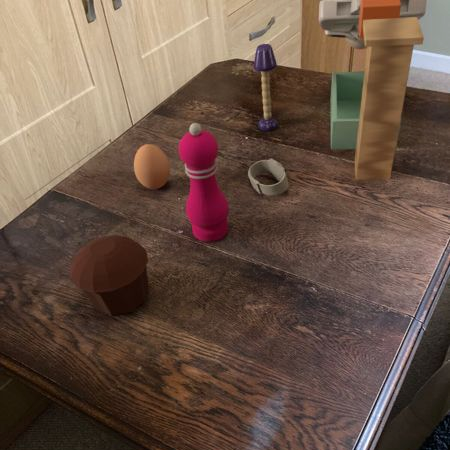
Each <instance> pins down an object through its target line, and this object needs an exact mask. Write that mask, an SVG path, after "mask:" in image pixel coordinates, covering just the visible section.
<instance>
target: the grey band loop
mask: <svg viewBox="0 0 450 450" xmlns="http://www.w3.org/2000/svg"><path fill="white" fill-rule="evenodd" d="M263 173H269V174H271V175H272V176H273V177H274V178H275V179H276V181H278V182H277V183H274V184H269V185H268V184H262V183H260V181H259V180H257V179H255V178H256V177H257V176H259V175H261V174H263ZM247 176H248V179H249V181H250V183H251V186H252V187H253V189H254V190H255V191H256V192H257V193H258V194H259V195H262V194H263V195H266V196H277V195H281V194H283V193H284V192H287V190H288V189H289V187H290V184H289V179H288V176H287V172H286V170H285V168H284V167H283V165H282V164H281V163H280V162H278V161H277V160H275V159H274V158H272V157H271V158H269V159H262V160H259V161H256V162H254V163H253V164H252V165H250V167H249V168H248V170H247Z"/></svg>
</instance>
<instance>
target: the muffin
mask: <svg viewBox="0 0 450 450" xmlns="http://www.w3.org/2000/svg"><path fill="white" fill-rule="evenodd" d="M148 263H149V258H148V251H147V248H145V247H143V246H142V245H141V244H140V243H139V242H138V241H136V240H134V238H132V237H129V236H124V235H119V234H112V235H103V236H101V237H98V238H95V239H93V240H91V241H89V242H88V243H87V244H85V245H84V246H82V247H81V248H79V250H78V252H77V253H76V255H75V256H74V258H73V260H72V261H71V264H70V267H69V277H70V279H69V280H70V281H71V282H72V283H73V284H74V285H75V286H76V288H78V290H82V291H83V293H84V294H85V295H86V297H87V299H89V301H90V302H91V304H92V306H94V308H95V309H96V310H97V311H98V312H101V313H104V312H105V314H107V315H109V316H111V317H112V316H113V315H114V316H117V315H116V314H118V315H121V313H122V314H129V313H128V312H130V313H132V312H133V311H134V310H135V309H136V308H137V307H139V306H141V305H143V302H144V303H145V300H146V296H147V293H148V292H149V279H148V270H147V265H148ZM140 304H141V305H140ZM134 308H135V309H134ZM133 309H134V310H133ZM132 310H133V311H132Z"/></svg>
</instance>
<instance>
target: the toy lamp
mask: <svg viewBox="0 0 450 450" xmlns="http://www.w3.org/2000/svg"><path fill="white" fill-rule="evenodd" d="M253 60H254V61H253V70H255V71H257V72H260V74H261V79H260V81H261V90H262V91H261V97H262V104H263V106H262V110H263V117H262V118H260V120H259V121H258V126H257V128H258V129H259V130H261V131H263V132H269V131H272V130H275V129H276V128H278V121H277V119H276V118H274V117H273V116H272V105H271V104H272V99H271V90H270V89H271V84H270V81H271V80H270V79H271V78H270V71H273V70H274V69H276V67H277V66H278V65H277V63H278V62H277V60H276V56H275V52H274V49H273V46H272V45H271V44H270V43H262V44H258V46H256V49H255V55H254V59H253Z"/></svg>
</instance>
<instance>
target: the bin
mask: <svg viewBox="0 0 450 450" xmlns="http://www.w3.org/2000/svg"><path fill="white" fill-rule="evenodd" d="M364 73H365V70H363V71H360V70H359V71H333V72H332V73H331V87H330V88H331V89H330V150H356V144H357V135H358V127H359V118H360V109H361V100H362V91H363V82H364ZM401 123H402V119H401V120H400V126H399V131H398V137H397V142H396V148H395V150H396V149H397V146H398V141H399V135H400V129H401Z"/></svg>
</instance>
